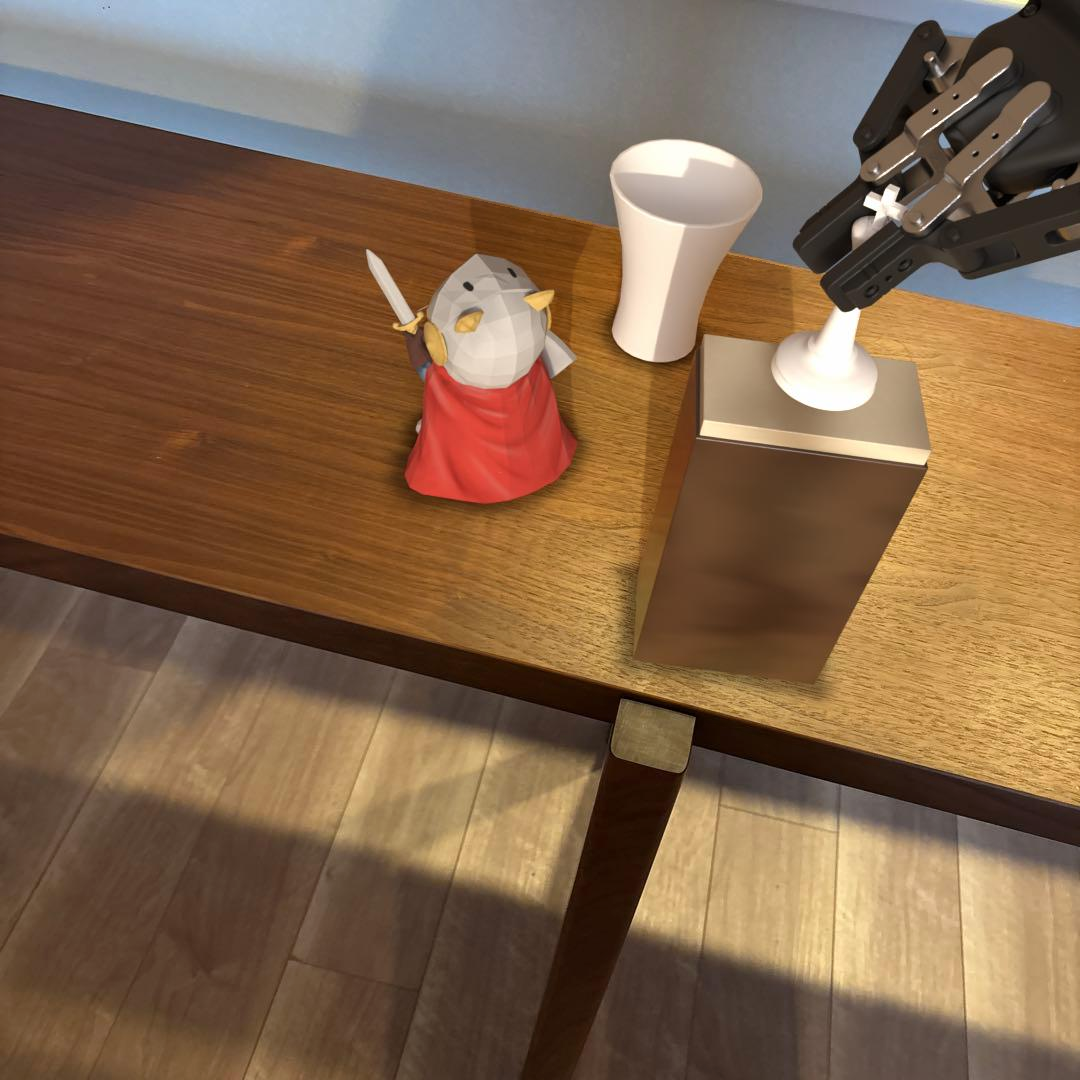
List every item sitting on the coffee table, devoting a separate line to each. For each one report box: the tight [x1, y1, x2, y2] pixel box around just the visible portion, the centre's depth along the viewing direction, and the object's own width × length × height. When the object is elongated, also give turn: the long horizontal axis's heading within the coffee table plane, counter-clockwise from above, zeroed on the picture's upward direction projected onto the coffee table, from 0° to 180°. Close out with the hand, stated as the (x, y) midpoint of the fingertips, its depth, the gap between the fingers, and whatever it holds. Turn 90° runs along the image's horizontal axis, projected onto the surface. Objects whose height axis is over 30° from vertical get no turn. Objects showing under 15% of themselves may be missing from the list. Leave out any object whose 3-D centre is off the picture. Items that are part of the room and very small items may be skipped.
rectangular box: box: [632, 333, 932, 685], centre depth 60 cm, size 11×6×20 cm, turn 84°
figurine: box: [365, 248, 579, 505], centre depth 71 cm, size 13×11×15 cm
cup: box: [609, 138, 764, 363], centre depth 80 cm, size 10×10×14 cm
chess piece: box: [771, 184, 910, 411], centre depth 48 cm, size 5×5×10 cm
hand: (818, 278), depth 47 cm, fingers closed on chess piece
